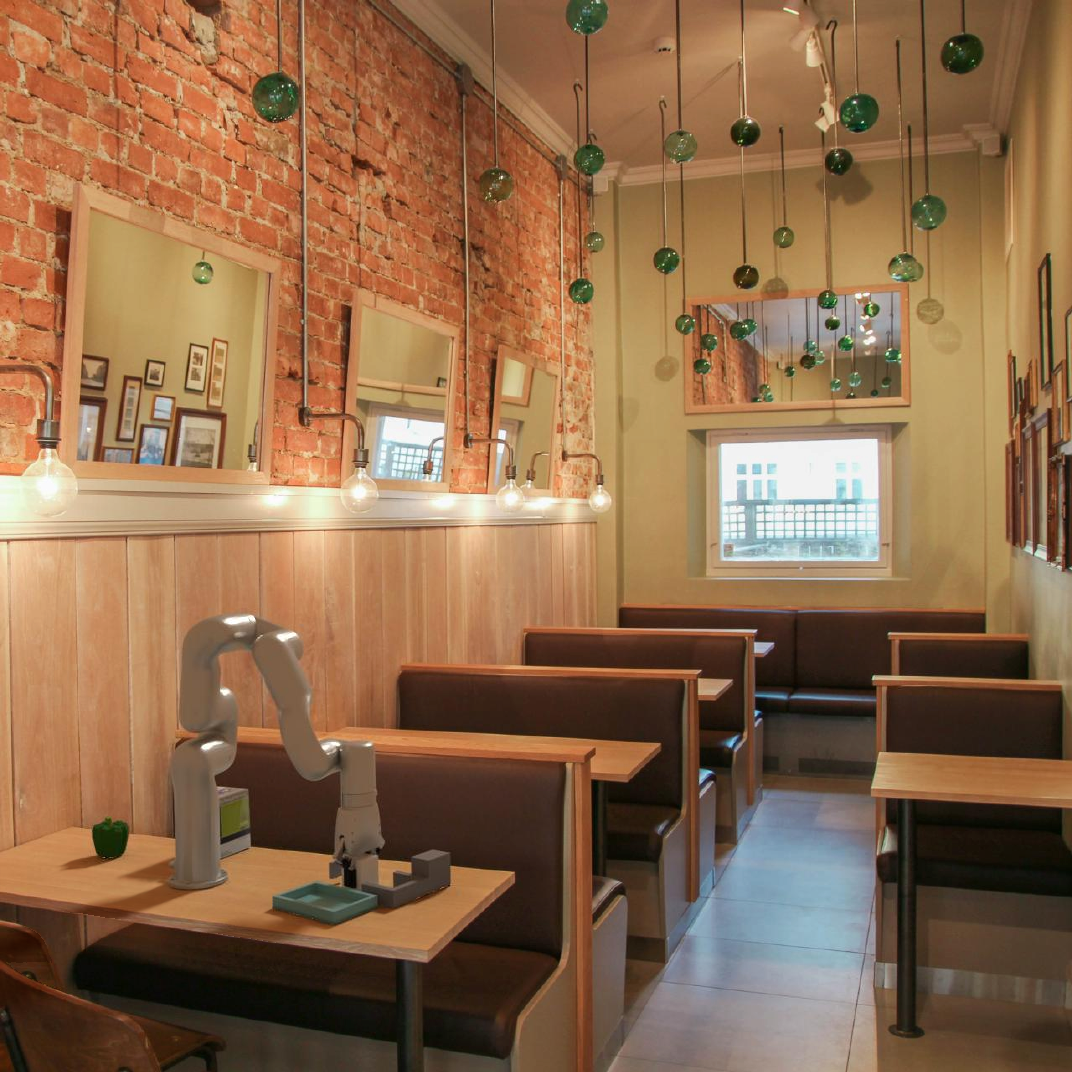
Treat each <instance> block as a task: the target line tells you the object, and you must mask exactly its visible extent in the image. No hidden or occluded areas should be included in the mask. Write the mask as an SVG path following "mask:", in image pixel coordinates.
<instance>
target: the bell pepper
mask: <svg viewBox="0 0 1072 1072" xmlns="http://www.w3.org/2000/svg"><path fill="white" fill-rule="evenodd" d="M112 819H113V818H112V817H111V816H108V815H107V816H105V818H104V821H102V822H100V823H97V824H94V825H93V826H92V829H91V835H92V836H91V838H92V843H93V846H94V850H95V853H96V855H97V856H98V857H100V856H101V857H105V858H104V859H107V858H109V857H115V856H117V857H118V856H122V855H124V853H125V852H126V850H127V846H128V841H129V838H130V837H129V836H130V826H129V825H128V822H124V821H123V820H116V821H113V820H112ZM112 821H113V822H112ZM101 857H100V858H101ZM115 858H116V857H115ZM109 859H110V858H109Z"/></svg>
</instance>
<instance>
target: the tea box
mask: <svg viewBox="0 0 1072 1072" xmlns="http://www.w3.org/2000/svg"><path fill="white" fill-rule="evenodd" d="M216 786H217V785H216ZM217 789H218V794H219V809H220V860H221V859H223V858H226V857H229V856H232V855H234V854H236V853H240V852H241V851H244V850H246V849H249V848H251V846H252V844H251V843H252V842H251V823H250V822H251V819H250V818H251V817H250V798H249V797H250V796H249V795H250V794H249V789H248V788H238V787H227V786H220V785H219V786H217Z"/></svg>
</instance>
